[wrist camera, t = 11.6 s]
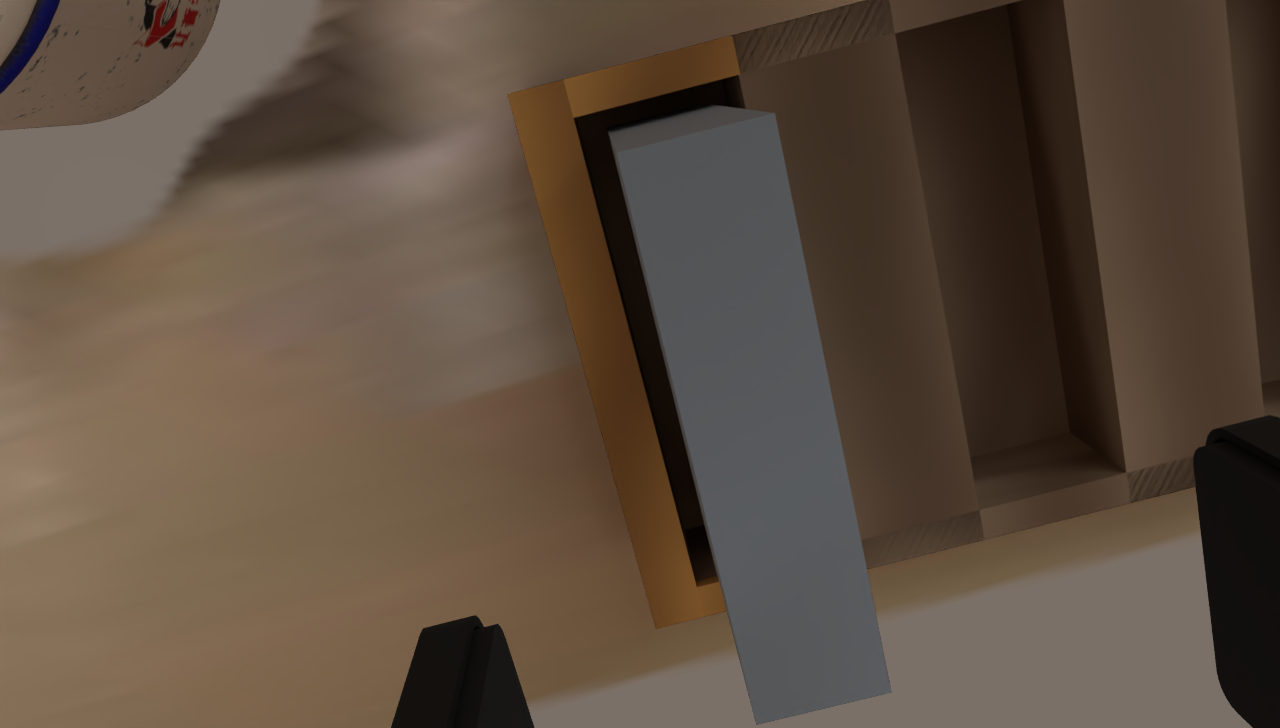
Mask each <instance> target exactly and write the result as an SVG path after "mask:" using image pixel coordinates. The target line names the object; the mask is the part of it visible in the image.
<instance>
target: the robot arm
mask: <svg viewBox="0 0 1280 728" xmlns="http://www.w3.org/2000/svg"><path fill="white" fill-rule="evenodd" d="M1193 468H1194V476H1195V485H1196V494H1197V502H1198V511H1199V520H1200V529H1201V537H1202V546H1203V555H1204V564H1205V572H1206V581H1207V590H1208V599H1209V607H1210V616H1211V624H1212V634H1213V641H1214V651H1215V660H1216V668H1217V674H1218V679H1219V682H1220V685H1221V688H1222V690H1223V692H1224V694H1225V696H1226V698H1227V700H1228V701H1229V703H1230V704H1231V706H1232V707H1233V708H1234V709H1235V711H1236V712H1237V713H1238V714H1239V715H1240V716H1241V717H1242V718H1243V719H1244V720H1245V721H1246V722H1247V723H1249V724H1250V725H1251V726H1252V727H1253V728H1280V418H1279V417H1276V416H1272V415H1267V416H1264V417H1260V418H1256V419H1252V420H1248V421H1244V422H1240V423H1236V424H1232V425H1228V426H1224V427H1220V428H1216V429H1213V430H1211V432H1210V433H1209V434H1208V436H1207V440H1206V446H1202V447H1198V448H1197V449H1196V451H1195V453H1194V457H1193ZM391 728H534V725H533V722H532V719H531V716H530V712H529V709H528V706H527V703H526V700H525V697H524V694H523V691H522V688H521V685H520V682H519V678H518V675H517V672H516V669H515V666H514V663H513V660H512V657H511V654H510V651H509V648H508V644H507V641H506V638H505V636H504V633H503V631H502V629H501V627H500V626H499V625H498V624H496V625H492V626H488V627H483V624H482V623H481V621H480V619H479V618H478V617H477V616H476V615H475V616H470V617H467V618H463V619H459V620H455V621H451V622H447V623H443V624H439V625H435V626H431V627H427V628H423V630H422V631H421V633H420V636H419V640H418V643H417V646H416V649H415V652H414V656H413V659H412V662H411V665H410V668H409V672H408V675H407V678H406V681H405V685H404V688H403V691H402V694H401V697H400V701H399V704H398V707H397V710H396V713H395V717H394V720H393V723H392V726H391Z"/></svg>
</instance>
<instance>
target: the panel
mask: <svg viewBox="0 0 1280 728" xmlns="http://www.w3.org/2000/svg"><path fill="white" fill-rule="evenodd" d="M607 132H608V136H609V140H610V144H611V148H612V152H613V156H614V161H615V165H616V169H617V173H618V177H619V181H620V185H621V189H622V193H623V197H624V201H625V205H626V209H627V213H628V218H629V222H630V226H631V230H632V234H633V238H634V242H635V246H636V250H637V254H638V258H639V262H640V266H641V271H642V275H643V279H644V283H645V287H646V291H647V295H648V299H649V303H650V307H651V311H652V315H653V319H654V323H655V328H656V332H657V336H658V340H659V344H660V348H661V352H662V356H663V360H664V364H665V368H666V372H667V376H668V380H669V385H670V389H671V393H672V397H673V401H674V405H675V409H676V413H677V417H678V421H679V425H680V429H681V433H682V438H683V442H684V446H685V450H686V454H687V458H688V462H689V466H690V470H691V474H692V478H693V482H694V486H695V490H696V495H697V499H698V503H699V506H700V510H701V514H702V518H703V522H704V526H705V529H706V533H707V537H708V541H709V545H710V549H711V553H712V556H713V560H714V564H715V568H716V572H717V576H718V579H719V583H720V587H721V591H722V595H723V599H724V602H725V606H726V610H727V614H728V618H729V622H730V625H731V629H732V633H733V637H734V641H735V645H736V648H737V652H738V656H739V660H740V663H741V667H742V671H743V675H744V679H745V683H746V687H747V690H748V695H749V698H750V702H751V706H752V710H753V714H754V718H755V721H756V725H758V724H762V723H766V722H771V721H775V720H779V719H783V718H787V717H791V716H795V715H800V714H804V713H808V712H812V711H816V710H821V709H825V708H829V707H833V706H837V705H841V704H846V703H850V702H854V701H858V700H862V699H866V698H870V697H875V696H879V695H883V694H887V693H891V692H892V691H891V686H890V681H889V677H888V672H887V667H886V662H885V657H884V652H883V647H882V642H881V637H880V632H879V627H878V622H877V617H876V612H875V607H874V602H873V597H872V592H871V587H870V582H869V577H868V572H867V567H866V562H865V558H864V553H863V548H862V543H861V538H860V533H859V528H858V523H857V518H856V513H855V508H854V503H853V498H852V493H851V488H850V483H849V478H848V473H847V468H846V463H845V458H844V453H843V448H842V443H841V439H840V434H839V429H838V424H837V419H836V414H835V409H834V404H833V399H832V394H831V389H830V384H829V379H828V374H827V369H826V364H825V359H824V354H823V349H822V344H821V339H820V334H819V329H818V324H817V320H816V315H815V310H814V305H813V300H812V295H811V290H810V285H809V280H808V275H807V270H806V265H805V260H804V255H803V250H802V245H801V240H800V235H799V230H798V225H797V220H796V215H795V210H794V205H793V201H792V196H791V191H790V186H789V181H788V176H787V171H786V166H785V161H784V156H783V151H782V146H781V141H780V136H779V131H778V126H777V121H776V116H775V113H771V112H763V111H756V110H748V109H741V108H733V107H726V106H719V105H711V104H704V103H703V104H699V105H695V106H691V107H687V108H683V109H679V110H675V111H671V112H667V113H663V114H659V115H655V116H651V117H647V118H643V119H639V120H635V121H631V122H627V123H623V124H619V125H615V126H611V127H607Z"/></svg>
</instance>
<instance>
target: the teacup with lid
mask: <svg viewBox="0 0 1280 728" xmlns="http://www.w3.org/2000/svg"><path fill="white" fill-rule="evenodd" d="M219 3H220V0H0V130H9V129H10V130H11V129H25V128H38V127H53V126H66V125H81V124H88V123H94V122H99V121H103V120H107V119H110V118H114V117H117V116H120V115H122V114H125V113H127V112H130V111H132V110H135V109H136V108H138V107H140V106H142V105H144V104H146V103H148V102H149V101H151V100H152V99H154V98H155V97H157V96H158V95H160V94H161V93H162V92H163V91H165V90H166V89H167V88H168V87H170V86H171V85H172V84H173V83H174V82H175V81H176V80H177V79H178V78H179V77H180V76H181V75H182V74H183V73H184V72H185V71H186V70H187V68H188V67H189V65H190V64H191V63H192V62H193V60H194V59H195V58H196V56H197V55H198V53H199V51H200V49H201V48H202V46H203V45H204V43H205V41H206V39H207V37H208V35H209V32H210V30H211V28H212V26H213V23H214V20H215V17H216V14H217V11H218V8H219Z"/></svg>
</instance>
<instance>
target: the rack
mask: <svg viewBox="0 0 1280 728" xmlns="http://www.w3.org/2000/svg"><path fill="white" fill-rule="evenodd" d="M507 95H508V98H509V102H510V106H511V109H512V113H513V116H514V120H515V124H516V127H517V131H518V134H519V138H520V142H521V145H522V149H523V152H524V156H525V159H526V163H527V167H528V170H529V174H530V177H531V181H532V185H533V188H534V192H535V195H536V199H537V203H538V206H539V210H540V213H541V217H542V221H543V224H544V228H545V231H546V235H547V239H548V242H549V246H550V249H551V253H552V257H553V260H554V264H555V267H556V271H557V275H558V278H559V282H560V285H561V289H562V293H563V296H564V300H565V303H566V307H567V311H568V314H569V318H570V321H571V325H572V329H573V332H574V336H575V339H576V343H577V347H578V350H579V354H580V357H581V361H582V364H583V368H584V372H585V375H586V379H587V382H588V386H589V390H590V393H591V397H592V400H593V404H594V408H595V411H596V415H597V418H598V422H599V426H600V429H601V433H602V436H603V440H604V444H605V447H606V451H607V454H608V458H609V462H610V465H611V469H612V472H613V476H614V480H615V483H616V487H617V490H618V494H619V498H620V501H621V505H622V508H623V512H624V516H625V519H626V523H627V526H628V530H629V534H630V537H631V541H632V544H633V548H634V552H635V555H636V559H637V562H638V566H639V569H640V573H641V577H642V580H643V584H644V587H645V591H646V595H647V598H648V602H649V605H650V609H651V613H652V616H653V620H654V623H655V627H656V629H657V628H661V627H665V626H669V625H673V624H677V623H681V622H685V621H689V620H693V619H697V618H701V617H705V616H709V615H713V614H717V613H721V612H725V611H727V610H726V606H725V602H724V599H723V595H722V591H721V587H720V583H719V579H718V576H717V572H716V568H715V564H714V560H713V556H712V553H711V549H710V545H709V541H708V537H707V533H706V529H705V526H704V522H703V518H702V514H701V510H700V506H699V503H698V499H697V495H696V490H695V486H694V482H693V478H692V474H691V470H690V466H689V462H688V458H687V454H686V450H685V446H684V442H683V438H682V433H681V429H680V425H679V421H678V417H677V413H676V409H675V405H674V401H673V397H672V393H671V389H670V385H669V380H668V376H667V372H666V368H665V364H664V360H663V356H662V352H661V348H660V344H659V340H658V336H657V332H656V328H655V323H654V319H653V315H652V311H651V307H650V303H649V299H648V295H647V291H646V287H645V283H644V279H643V275H642V271H641V266H640V262H639V258H638V254H637V250H636V246H635V242H634V238H633V234H632V230H631V226H630V222H629V218H628V213H627V209H626V205H625V201H624V197H623V193H622V189H621V185H620V181H619V177H618V173H617V169H616V165H615V161H614V156H613V152H612V148H611V144H610V140H609V136H608V132H607V127H611V126H615V125H619V124H623V123H627V122H631V121H635V120H639V119H643V118H647V117H651V116H655V115H659V114H663V113H667V112H671V111H675V110H679V109H683V108H687V107H691V106H695V105H699V104H703V103H704V104H711V105H719V106H726V107H733V108H741V109H748V110H756V111H763V112H771V113H775V116H776V121H777V126H778V131H779V136H780V141H781V146H782V151H783V156H784V161H785V166H786V171H787V176H788V181H789V186H790V191H791V196H792V201H793V205H794V210H795V215H796V220H797V225H798V230H799V235H800V240H801V245H802V250H803V255H804V260H805V265H806V270H807V275H808V280H809V285H810V290H811V295H812V300H813V305H814V310H815V315H816V320H817V324H818V329H819V334H820V339H821V344H822V349H823V354H824V359H825V364H826V369H827V374H828V379H829V384H830V389H831V394H832V399H833V404H834V409H835V414H836V419H837V424H838V429H839V434H840V439H841V443H842V448H843V453H844V458H845V463H846V468H847V473H848V478H849V483H850V488H851V493H852V498H853V503H854V508H855V513H856V518H857V523H858V528H859V533H860V538H861V543H862V548H863V553H864V558H865V562H866V567H867V569H870V568H874V567H878V566H882V565H886V564H890V563H894V562H898V561H902V560H906V559H910V558H914V557H918V556H922V555H926V554H930V553H934V552H938V551H942V550H946V549H950V548H954V547H958V546H962V545H966V544H970V543H974V542H978V541H982V540H986V539H990V538H994V537H998V536H1002V535H1006V534H1010V533H1014V532H1017V531H1021V530H1025V529H1029V528H1033V527H1037V526H1041V525H1045V524H1049V523H1053V522H1057V521H1061V520H1065V519H1069V518H1073V517H1077V516H1081V515H1085V514H1089V513H1093V512H1097V511H1101V510H1105V509H1109V508H1113V507H1117V506H1121V505H1125V504H1129V503H1133V502H1137V501H1141V500H1145V499H1149V498H1153V497H1157V496H1161V495H1165V494H1169V493H1173V492H1177V491H1181V490H1185V489H1189V488H1193V487H1196V485H1195V476H1194V468H1193V457H1194V453H1195V451H1196V449H1197V448H1198V447H1202V446H1206V440H1207V436H1208V434H1209V433H1210V432H1211V430H1213V429H1216V428H1220V427H1224V426H1228V425H1232V424H1236V423H1240V422H1244V421H1248V420H1252V419H1256V418H1260V417H1264V416H1267V415H1272V416H1276V417H1279V418H1280V0H865V1H861V2H857V3H854V4H850V5H846V6H842V7H838V8H835V9H831V10H827V11H823V12H819V13H815V14H812V15H808V16H804V17H800V18H796V19H793V20H789V21H785V22H781V23H777V24H774V25H770V26H766V27H762V28H758V29H755V30H751V31H747V32H743V33H739V34H736V35H731V36H727V37H723V38H719V39H716V40H712V41H708V42H704V43H700V44H697V45H693V46H689V47H685V48H681V49H678V50H674V51H670V52H666V53H662V54H659V55H655V56H651V57H647V58H643V59H640V60H636V61H632V62H628V63H624V64H620V65H617V66H613V67H609V68H605V69H601V70H598V71H594V72H590V73H586V74H582V75H579V76H575V77H571V78H567V79H563V80H560V81H556V82H552V83H548V84H544V85H541V86H537V87H533V88H529V89H525V90H522V91H518V92H514V93H510V94H507Z"/></svg>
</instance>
